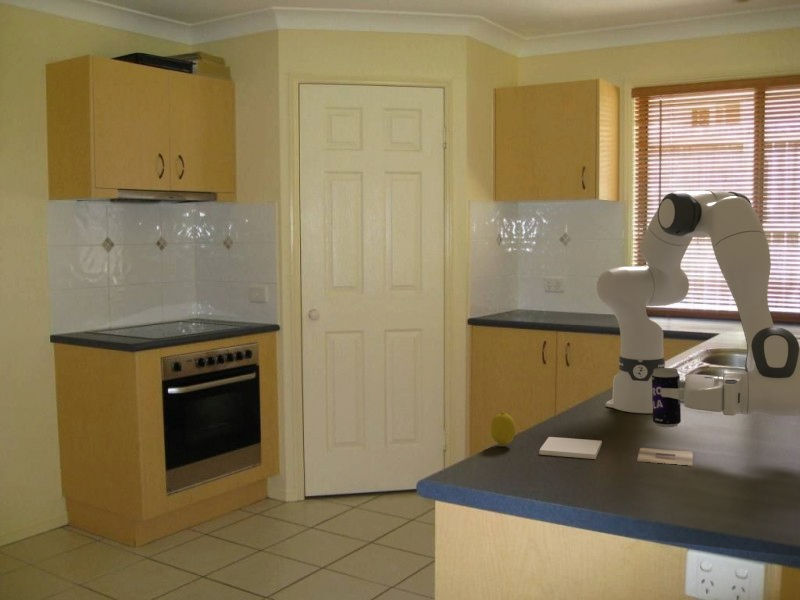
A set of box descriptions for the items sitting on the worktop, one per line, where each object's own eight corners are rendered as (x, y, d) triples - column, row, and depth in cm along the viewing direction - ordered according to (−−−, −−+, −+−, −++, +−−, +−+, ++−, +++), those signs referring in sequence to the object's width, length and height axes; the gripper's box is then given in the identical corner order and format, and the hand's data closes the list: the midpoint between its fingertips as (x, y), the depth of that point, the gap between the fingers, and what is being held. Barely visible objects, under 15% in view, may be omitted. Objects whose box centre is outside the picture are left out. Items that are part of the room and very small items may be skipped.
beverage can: (659, 421, 178) (658, 366, 177) (685, 424, 174) (683, 368, 173) (648, 426, 173) (647, 370, 172) (674, 429, 170) (673, 372, 169)
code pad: (640, 448, 181) (640, 447, 181) (692, 452, 177) (692, 451, 177) (636, 461, 171) (636, 460, 171) (692, 466, 167) (692, 465, 167)
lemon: (501, 442, 188) (501, 408, 188) (520, 446, 184) (520, 411, 184) (485, 446, 184) (485, 412, 184) (505, 451, 180) (505, 415, 180)
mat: (548, 441, 189) (548, 436, 189) (601, 445, 185) (601, 440, 184) (539, 454, 177) (539, 449, 177) (595, 459, 173) (595, 454, 173)
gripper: (730, 369, 178) (663, 366, 183) (733, 386, 159) (659, 382, 164) (729, 397, 179) (663, 394, 183) (733, 417, 159) (659, 413, 164)
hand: (661, 388), depth 173 cm, fingers closed on beverage can, 6 cm apart
